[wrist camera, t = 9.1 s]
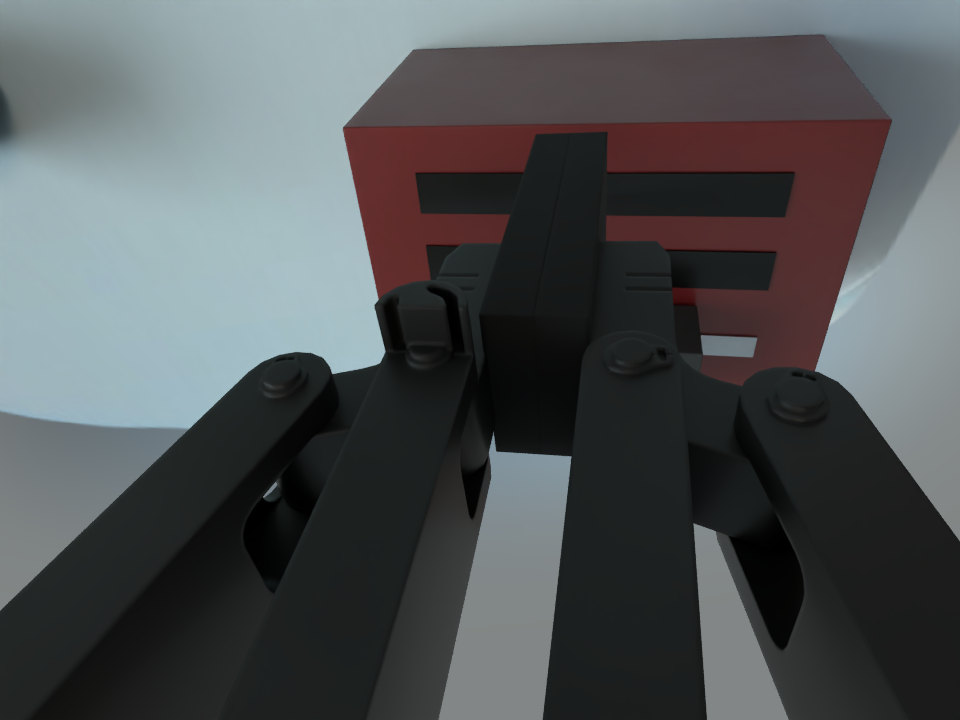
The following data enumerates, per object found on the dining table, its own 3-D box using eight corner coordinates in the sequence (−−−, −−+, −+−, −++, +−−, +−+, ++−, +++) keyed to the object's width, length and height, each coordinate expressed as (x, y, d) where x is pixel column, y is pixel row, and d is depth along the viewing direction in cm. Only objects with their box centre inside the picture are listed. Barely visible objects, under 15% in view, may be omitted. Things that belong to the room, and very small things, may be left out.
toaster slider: (697, 305, 26) (703, 354, 23) (685, 383, 28) (689, 434, 26) (617, 302, 26) (616, 349, 24) (613, 379, 29) (611, 429, 26)
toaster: (824, 34, 28) (894, 120, 20) (769, 277, 36) (805, 406, 28) (412, 49, 31) (340, 128, 24) (441, 268, 39) (394, 381, 31)
